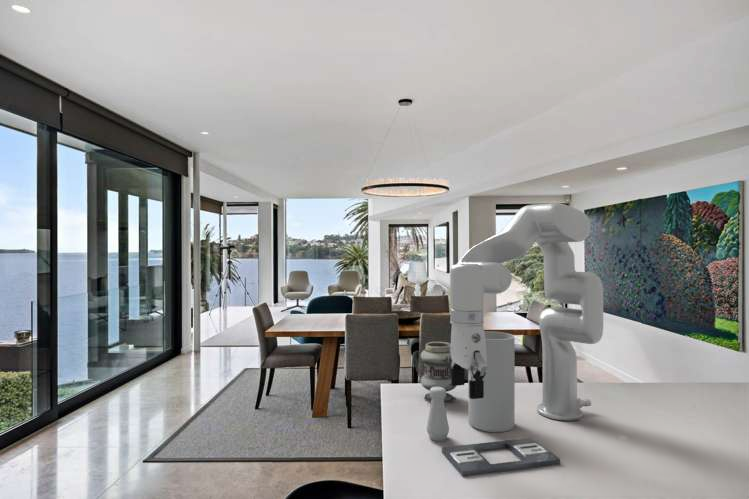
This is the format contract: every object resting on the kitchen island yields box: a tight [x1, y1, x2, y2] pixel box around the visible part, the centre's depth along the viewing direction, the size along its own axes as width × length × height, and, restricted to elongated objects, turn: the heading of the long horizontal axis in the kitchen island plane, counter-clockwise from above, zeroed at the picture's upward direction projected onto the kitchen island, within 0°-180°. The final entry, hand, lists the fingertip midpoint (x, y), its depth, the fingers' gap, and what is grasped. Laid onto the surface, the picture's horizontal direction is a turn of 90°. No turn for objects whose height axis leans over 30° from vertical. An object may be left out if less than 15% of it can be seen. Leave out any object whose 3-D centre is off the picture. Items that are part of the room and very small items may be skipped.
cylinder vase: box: [467, 330, 516, 434], centre depth 126 cm, size 12×12×25 cm
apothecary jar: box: [420, 341, 457, 404], centre depth 148 cm, size 12×12×18 cm
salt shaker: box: [426, 387, 450, 442], centre depth 117 cm, size 6×6×13 cm
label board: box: [441, 437, 561, 478], centre depth 106 cm, size 24×12×2 cm, turn 103°
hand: (466, 391), depth 104 cm, fingers open, 9 cm apart
